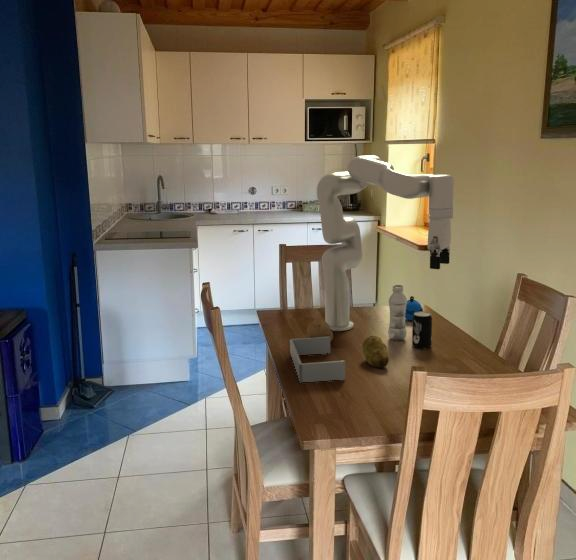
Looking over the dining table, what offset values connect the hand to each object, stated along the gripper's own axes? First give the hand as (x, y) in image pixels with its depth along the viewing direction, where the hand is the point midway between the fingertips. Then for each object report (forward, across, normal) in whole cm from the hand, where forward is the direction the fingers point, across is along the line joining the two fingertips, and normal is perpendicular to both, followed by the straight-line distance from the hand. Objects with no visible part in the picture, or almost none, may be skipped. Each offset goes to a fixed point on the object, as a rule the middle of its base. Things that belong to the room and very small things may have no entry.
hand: (439, 266), depth 183 cm
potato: (+30, +19, -15) cm, 38 cm away
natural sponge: (+30, +13, -39) cm, 51 cm away
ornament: (+30, -32, -21) cm, 48 cm away
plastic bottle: (+30, -6, -17) cm, 35 cm away
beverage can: (+30, -3, -7) cm, 31 cm away
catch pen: (+30, +31, -30) cm, 52 cm away
